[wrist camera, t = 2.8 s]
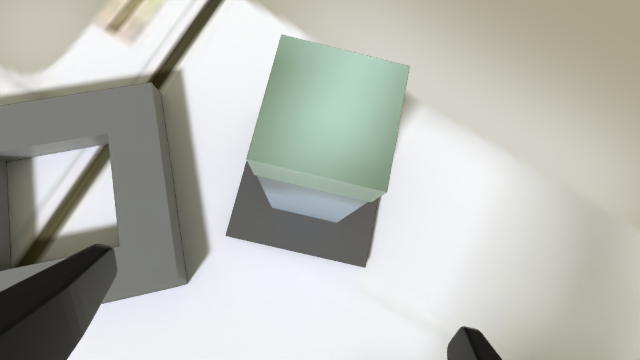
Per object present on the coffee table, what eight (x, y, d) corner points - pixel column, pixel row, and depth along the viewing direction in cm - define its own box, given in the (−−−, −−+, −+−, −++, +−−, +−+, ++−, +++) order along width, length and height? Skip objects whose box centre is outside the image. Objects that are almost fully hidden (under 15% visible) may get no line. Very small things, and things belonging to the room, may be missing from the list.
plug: (337, 223, 20) (387, 192, 10) (270, 208, 20) (246, 159, 10) (350, 159, 21) (409, 66, 11) (287, 144, 21) (281, 34, 10)
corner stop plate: (363, 267, 20) (373, 269, 18) (227, 236, 20) (218, 233, 18) (387, 138, 22) (399, 124, 20) (262, 108, 22) (259, 90, 20)
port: (187, 283, 20) (177, 286, 18) (-43, 335, 18) (-79, 344, 16) (160, 93, 22) (149, 79, 20) (-46, 126, 20) (-78, 114, 19)
